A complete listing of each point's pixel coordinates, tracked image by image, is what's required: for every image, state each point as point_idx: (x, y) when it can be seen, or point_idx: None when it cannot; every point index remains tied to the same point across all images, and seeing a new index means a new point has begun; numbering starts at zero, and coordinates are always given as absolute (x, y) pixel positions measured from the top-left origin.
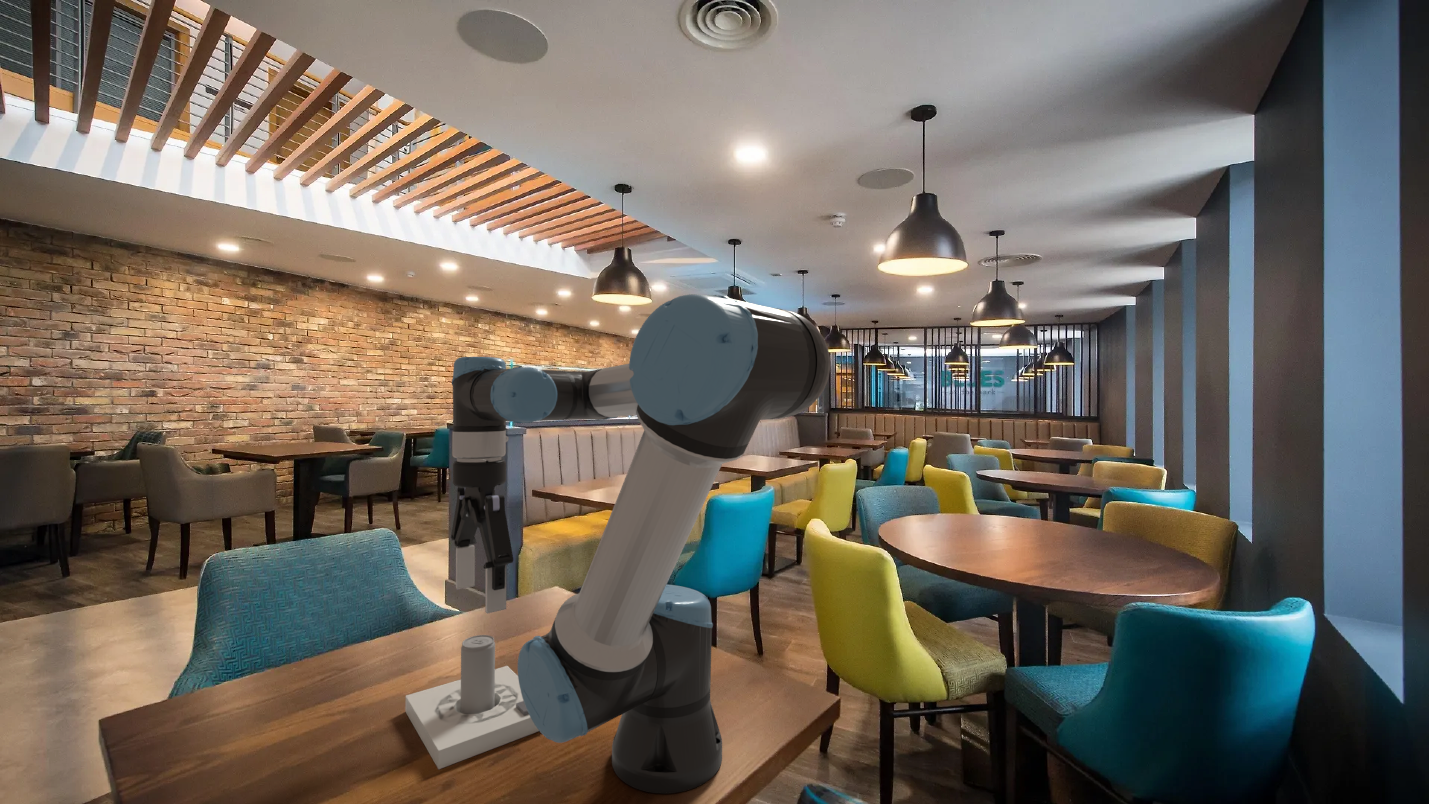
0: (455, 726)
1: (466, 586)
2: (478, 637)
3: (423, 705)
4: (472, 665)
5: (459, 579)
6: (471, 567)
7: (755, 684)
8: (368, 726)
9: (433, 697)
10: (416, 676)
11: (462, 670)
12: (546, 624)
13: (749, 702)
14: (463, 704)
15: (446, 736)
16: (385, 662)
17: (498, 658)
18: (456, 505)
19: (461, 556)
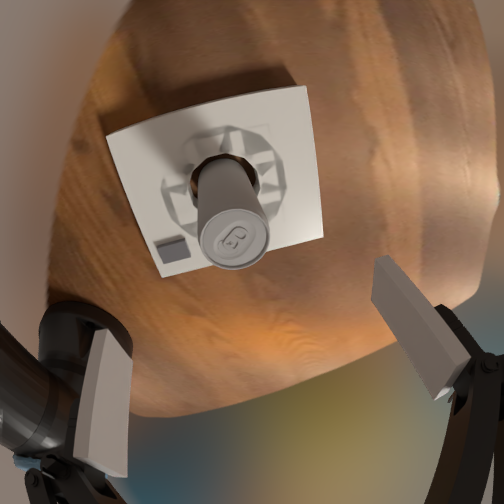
0: (161, 155)
1: (374, 284)
2: (261, 241)
3: (255, 108)
4: (199, 211)
5: (390, 284)
6: (401, 336)
7: (182, 404)
8: (278, 36)
9: (276, 124)
10: (395, 114)
11: (218, 187)
12: (422, 281)
13: (155, 395)
14: (213, 169)
15: (138, 144)
16: (448, 90)
17: (382, 222)
18: None
19: (433, 349)
